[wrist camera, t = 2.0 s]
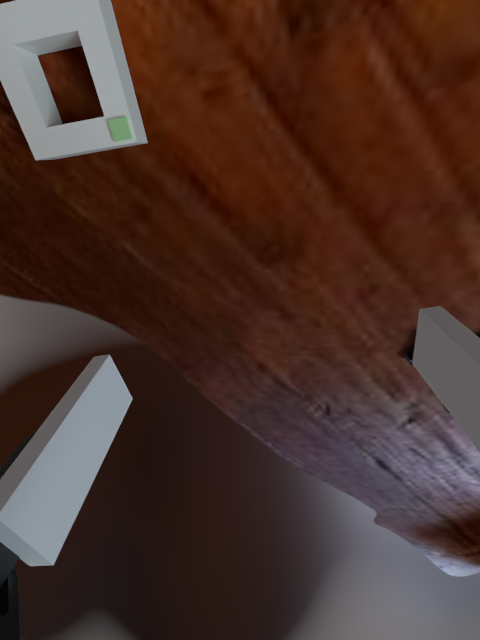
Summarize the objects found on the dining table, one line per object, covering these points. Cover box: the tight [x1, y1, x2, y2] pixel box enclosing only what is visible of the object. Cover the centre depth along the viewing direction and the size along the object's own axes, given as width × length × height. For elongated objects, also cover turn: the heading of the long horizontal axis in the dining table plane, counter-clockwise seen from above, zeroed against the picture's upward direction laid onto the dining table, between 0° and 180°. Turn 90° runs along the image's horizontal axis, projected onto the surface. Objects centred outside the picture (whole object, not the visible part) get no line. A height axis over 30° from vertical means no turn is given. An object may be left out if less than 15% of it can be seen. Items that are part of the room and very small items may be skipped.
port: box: [0, 0, 148, 160], centre depth 25 cm, size 10×10×3 cm
